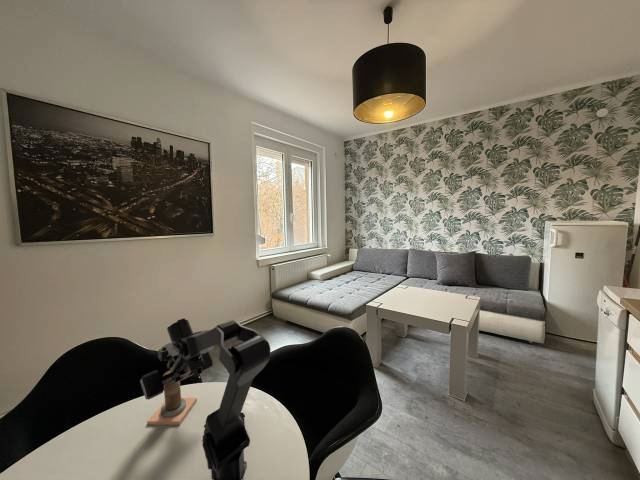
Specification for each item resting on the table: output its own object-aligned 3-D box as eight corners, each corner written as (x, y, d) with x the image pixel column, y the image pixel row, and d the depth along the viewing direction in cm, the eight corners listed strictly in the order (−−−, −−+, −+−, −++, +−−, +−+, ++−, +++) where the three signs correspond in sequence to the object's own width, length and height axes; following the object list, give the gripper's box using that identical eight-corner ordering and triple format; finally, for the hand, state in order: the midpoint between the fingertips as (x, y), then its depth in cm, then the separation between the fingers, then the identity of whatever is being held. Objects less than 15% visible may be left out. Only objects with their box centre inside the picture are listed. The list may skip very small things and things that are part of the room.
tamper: (191, 403, 82) (188, 368, 81) (172, 419, 75) (170, 382, 74) (174, 399, 84) (172, 365, 83) (155, 414, 77) (152, 378, 76)
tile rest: (197, 400, 85) (196, 397, 85) (179, 424, 75) (179, 421, 75) (168, 400, 85) (168, 397, 85) (147, 424, 75) (147, 421, 75)
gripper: (206, 325, 81) (192, 347, 89) (139, 349, 67) (129, 373, 74) (221, 355, 77) (205, 376, 85) (153, 388, 62) (140, 410, 70)
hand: (172, 382), depth 78 cm, fingers open, 9 cm apart
